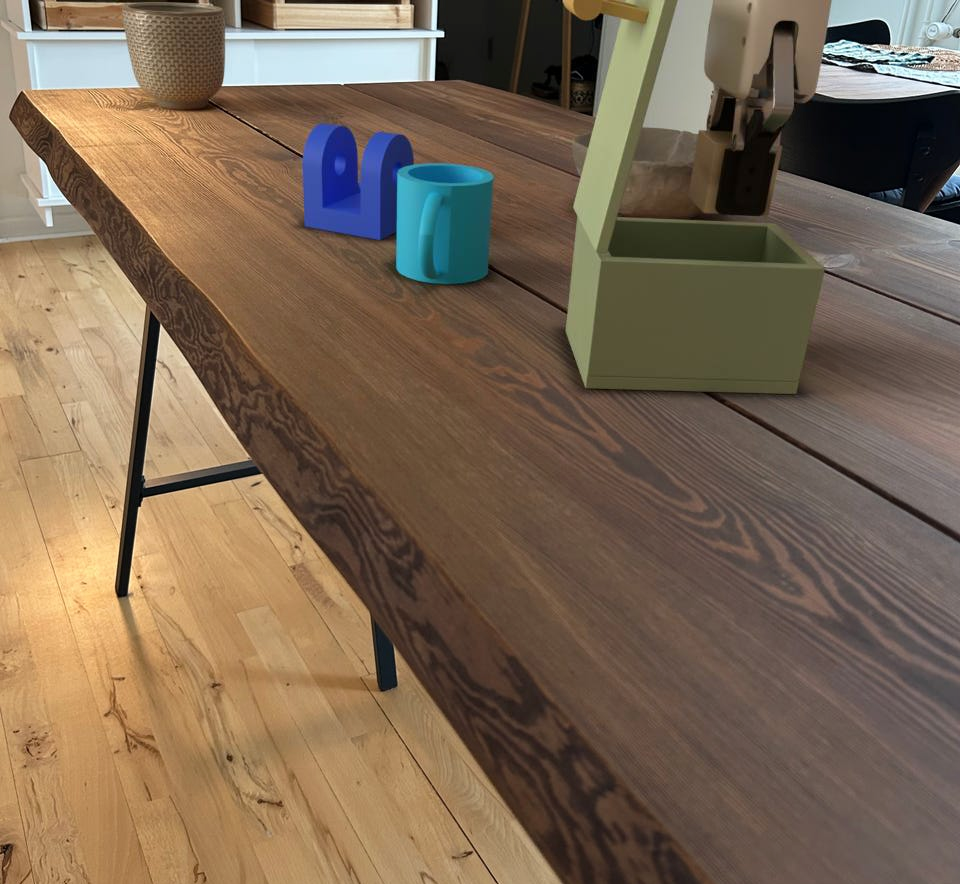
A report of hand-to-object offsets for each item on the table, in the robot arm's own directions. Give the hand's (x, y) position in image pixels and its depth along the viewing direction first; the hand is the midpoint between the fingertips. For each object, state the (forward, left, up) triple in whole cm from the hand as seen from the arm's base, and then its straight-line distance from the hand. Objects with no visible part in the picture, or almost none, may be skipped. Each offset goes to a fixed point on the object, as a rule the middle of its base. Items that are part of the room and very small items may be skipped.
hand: (729, 201), depth 69 cm
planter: (+55, -93, -12) cm, 109 cm away
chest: (+2, 0, -12) cm, 12 cm away
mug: (+19, -18, -12) cm, 29 cm away
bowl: (-4, -41, -12) cm, 43 cm away
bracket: (+24, -38, -12) cm, 46 cm away
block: (0, 0, 0) cm, 0 cm away
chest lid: (+8, 0, +5) cm, 9 cm away
